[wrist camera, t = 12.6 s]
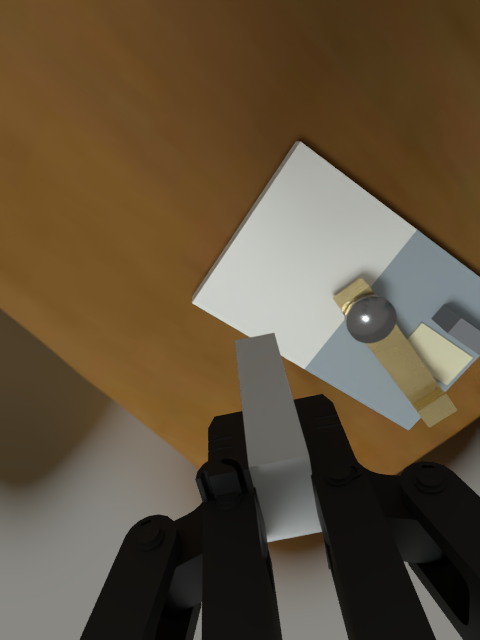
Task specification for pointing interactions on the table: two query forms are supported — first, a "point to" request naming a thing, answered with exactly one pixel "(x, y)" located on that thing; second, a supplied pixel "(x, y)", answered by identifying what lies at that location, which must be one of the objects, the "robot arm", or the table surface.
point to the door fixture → (342, 283)
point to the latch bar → (392, 349)
